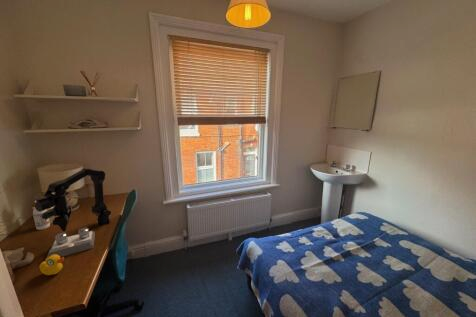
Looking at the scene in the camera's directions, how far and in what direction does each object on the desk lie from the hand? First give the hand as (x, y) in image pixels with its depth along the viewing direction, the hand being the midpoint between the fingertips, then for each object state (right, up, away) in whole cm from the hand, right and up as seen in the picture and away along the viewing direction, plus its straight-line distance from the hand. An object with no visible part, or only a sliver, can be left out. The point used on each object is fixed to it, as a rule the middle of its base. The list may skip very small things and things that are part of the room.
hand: (65, 227), depth 119 cm
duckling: (+12, -16, -21) cm, 29 cm away
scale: (+5, -11, -1) cm, 12 cm away
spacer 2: (+9, -7, +3) cm, 12 cm away
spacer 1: (0, -8, -2) cm, 8 cm away
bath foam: (-32, -7, +19) cm, 38 cm away
